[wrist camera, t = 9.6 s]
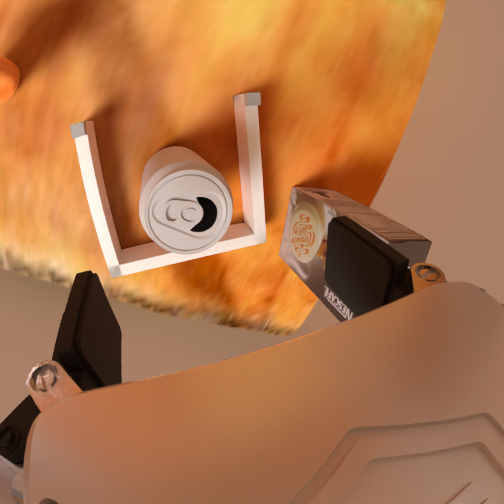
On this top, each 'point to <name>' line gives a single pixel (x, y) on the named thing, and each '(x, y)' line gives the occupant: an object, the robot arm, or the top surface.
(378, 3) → the top surface
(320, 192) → the coffee box
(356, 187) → the top surface
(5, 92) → the cup with straw
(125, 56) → the top surface
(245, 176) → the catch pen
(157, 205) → the beverage can
